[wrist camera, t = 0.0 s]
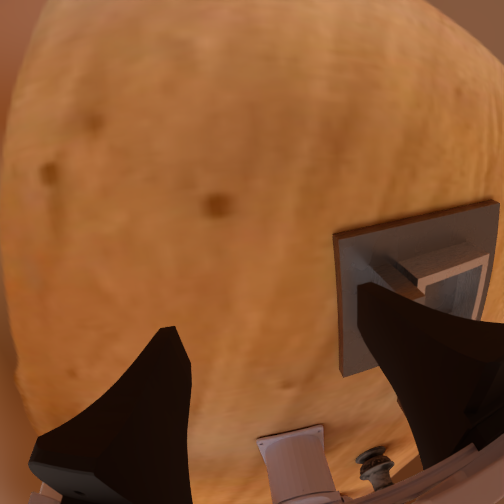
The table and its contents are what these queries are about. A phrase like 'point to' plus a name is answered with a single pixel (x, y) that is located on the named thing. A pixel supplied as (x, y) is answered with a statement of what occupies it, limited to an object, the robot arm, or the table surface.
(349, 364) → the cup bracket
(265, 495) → the table surface
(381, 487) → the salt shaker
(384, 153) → the table surface
